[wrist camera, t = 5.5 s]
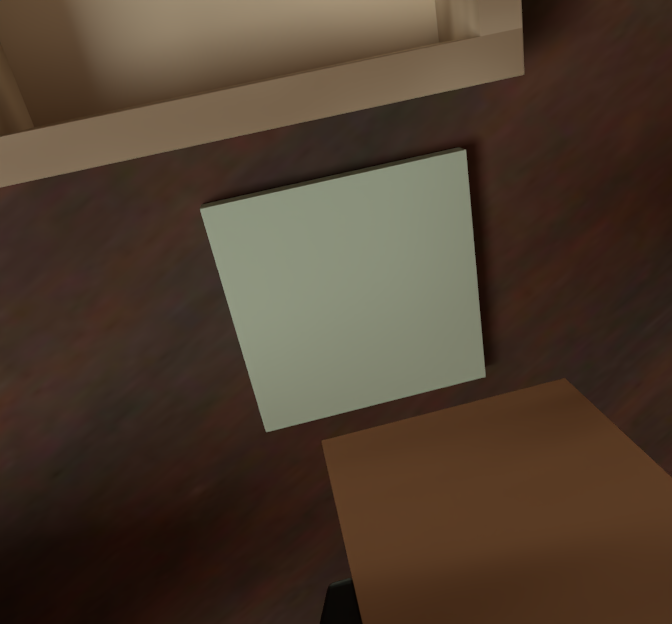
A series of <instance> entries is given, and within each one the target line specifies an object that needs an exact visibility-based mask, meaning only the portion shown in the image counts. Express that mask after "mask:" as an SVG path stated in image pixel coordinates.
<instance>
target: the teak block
mask: <svg viewBox="0 0 672 624" xmlns="http://www.w3.org/2000/svg"><path fill="white" fill-rule="evenodd" d="M321 442H322V447H323V451H324V456H325V460H326V464H327V469H328V473H329V478H330V482H331V486H332V491H333V495H334V500H335V504H336V508H337V513H338V517H339V522H340V526H341V530H342V535H343V539H344V544H345V548H346V552H347V557H348V561H349V566H350V570H351V574H352V579H353V583H354V588H355V592H356V596H357V601H358V605H359V610H360V614H361V618H362V623H363V624H672V477H671V476H669V475H668V474H667V473H666V472H665V471H664V470H663V469H662V468H661V467H660V466H659V465H658V464H657V463H655V462H654V461H653V460H652V459H651V458H650V457H649V456H648V455H647V454H646V453H645V452H644V451H643V450H641V449H640V448H639V447H638V446H637V445H636V444H635V443H634V442H633V441H632V440H631V439H630V438H629V437H627V436H626V435H625V434H624V433H623V432H622V431H621V430H620V429H619V428H618V427H617V426H616V425H615V424H614V423H612V422H611V421H610V420H609V419H608V418H607V417H606V416H605V415H604V414H603V413H602V412H601V411H600V410H598V409H597V408H596V407H595V406H594V405H593V404H592V403H591V402H590V401H589V400H588V399H587V398H586V397H584V396H583V395H582V394H581V393H580V392H579V391H578V390H577V389H576V388H575V387H574V386H573V385H572V384H570V383H569V382H568V381H567V380H566V379H565V378H563V379H559V380H555V381H551V382H547V383H543V384H540V385H536V386H532V387H528V388H524V389H520V390H516V391H512V392H509V393H505V394H501V395H497V396H493V397H489V398H485V399H481V400H477V401H474V402H470V403H466V404H462V405H458V406H454V407H450V408H446V409H443V410H439V411H435V412H431V413H427V414H423V415H419V416H415V417H411V418H408V419H404V420H400V421H396V422H392V423H388V424H384V425H380V426H377V427H373V428H369V429H365V430H361V431H357V432H353V433H349V434H345V435H342V436H338V437H334V438H330V439H326V440H322V441H321Z"/></svg>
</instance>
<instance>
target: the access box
mask: <svg viewBox="0 0 672 624" xmlns="http://www.w3.org/2000/svg"><path fill="white" fill-rule="evenodd" d="M520 75H524V53H523V28H522V4H521V0H0V187H4V186H9V185H14V184H18V183H23V182H28V181H32V180H37V179H41V178H46V177H51V176H55V175H60V174H65V173H69V172H74V171H79V170H83V169H88V168H93V167H97V166H102V165H107V164H111V163H116V162H120V161H125V160H130V159H134V158H139V157H144V156H148V155H153V154H158V153H162V152H167V151H172V150H176V149H181V148H186V147H190V146H195V145H199V144H204V143H209V142H213V141H218V140H223V139H227V138H232V137H237V136H241V135H246V134H251V133H255V132H260V131H265V130H269V129H274V128H278V127H283V126H288V125H292V124H297V123H302V122H306V121H311V120H316V119H320V118H325V117H330V116H334V115H339V114H344V113H348V112H353V111H357V110H362V109H367V108H371V107H376V106H381V105H385V104H390V103H395V102H399V101H404V100H409V99H413V98H418V97H423V96H427V95H432V94H436V93H441V92H446V91H450V90H455V89H460V88H464V87H469V86H474V85H478V84H483V83H488V82H492V81H497V80H502V79H506V78H511V77H515V76H520Z"/></svg>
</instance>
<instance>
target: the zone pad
mask: <svg viewBox="0 0 672 624" xmlns="http://www.w3.org/2000/svg"><path fill="white" fill-rule="evenodd" d="M200 211H201V214H202V218H203V221H204V225H205V228H206V231H207V235H208V238H209V241H210V245H211V248H212V252H213V255H214V258H215V262H216V265H217V268H218V272H219V275H220V279H221V282H222V285H223V289H224V292H225V295H226V299H227V302H228V306H229V309H230V312H231V316H232V319H233V323H234V326H235V329H236V333H237V336H238V339H239V343H240V346H241V350H242V353H243V356H244V360H245V363H246V366H247V370H248V373H249V377H250V380H251V383H252V387H253V390H254V393H255V397H256V400H257V404H258V407H259V410H260V414H261V417H262V421H263V424H264V427H265V431H266V432H269V431H273V430H277V429H281V428H285V427H289V426H293V425H297V424H301V423H305V422H309V421H313V420H317V419H321V418H325V417H329V416H333V415H337V414H341V413H344V412H348V411H352V410H356V409H360V408H364V407H368V406H372V405H376V404H380V403H384V402H388V401H392V400H396V399H400V398H404V397H408V396H412V395H416V394H420V393H424V392H428V391H432V390H435V389H439V388H443V387H447V386H451V385H455V384H459V383H463V382H467V381H471V380H475V379H479V378H483V377H486V375H485V363H484V352H483V340H482V329H481V317H480V306H479V294H478V282H477V271H476V259H475V248H474V236H473V225H472V213H471V202H470V190H469V178H468V167H467V155H466V150H465V149H463V148H460V147H458V148H453V149H449V150H444V151H440V152H435V153H431V154H426V155H422V156H417V157H413V158H408V159H404V160H399V161H395V162H390V163H386V164H381V165H377V166H372V167H368V168H363V169H359V170H354V171H350V172H345V173H341V174H336V175H332V176H327V177H323V178H318V179H314V180H309V181H305V182H300V183H296V184H291V185H287V186H282V187H278V188H273V189H269V190H264V191H260V192H255V193H251V194H246V195H242V196H237V197H233V198H228V199H224V200H219V201H215V202H211V203H206V204H202V205H201V207H200Z"/></svg>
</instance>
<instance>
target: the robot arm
mask: <svg viewBox="0 0 672 624" xmlns="http://www.w3.org/2000/svg"><path fill="white" fill-rule="evenodd" d="M320 624H363V623H362V618H361V614H360V610H359V605H358V601H357V596H356V592H355V588H354V583H353V579H352V578H348V579H344V580H341V581H337V582H334V583H331V584H330V585H329V587H328V589H327V593H326V597H325V602H324V606H323V611H322V615H321V620H320Z"/></svg>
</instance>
